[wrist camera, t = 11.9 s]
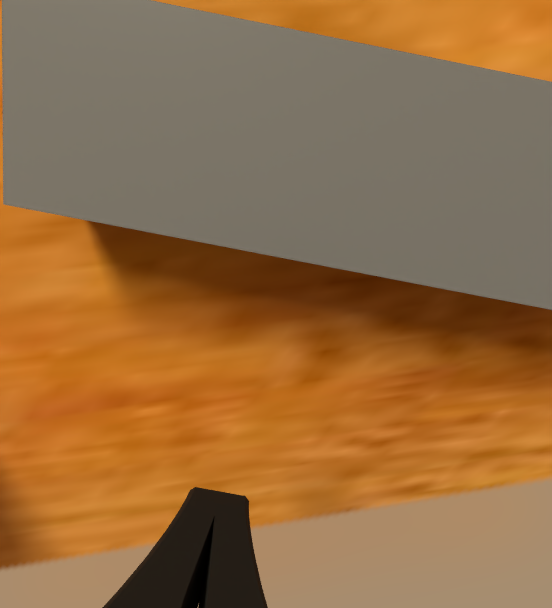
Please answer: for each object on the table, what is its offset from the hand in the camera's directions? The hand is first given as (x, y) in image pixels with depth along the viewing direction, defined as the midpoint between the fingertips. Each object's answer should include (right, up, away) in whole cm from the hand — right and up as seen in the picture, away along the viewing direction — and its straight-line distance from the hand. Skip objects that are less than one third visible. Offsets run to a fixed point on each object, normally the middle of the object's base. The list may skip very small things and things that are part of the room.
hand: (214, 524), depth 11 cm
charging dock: (+4, +11, +6) cm, 13 cm away
